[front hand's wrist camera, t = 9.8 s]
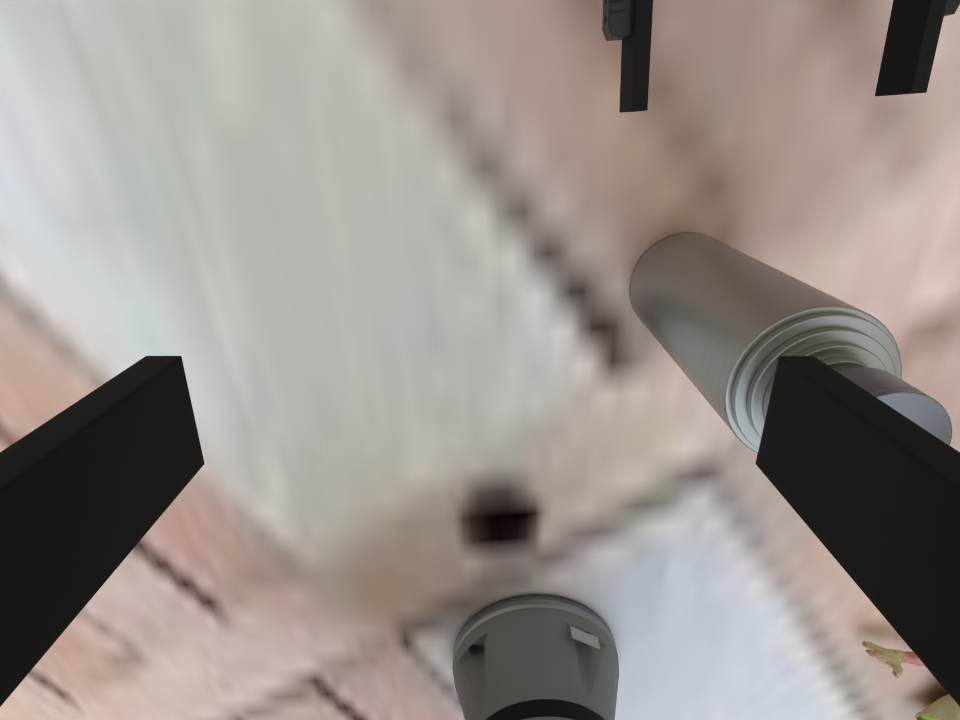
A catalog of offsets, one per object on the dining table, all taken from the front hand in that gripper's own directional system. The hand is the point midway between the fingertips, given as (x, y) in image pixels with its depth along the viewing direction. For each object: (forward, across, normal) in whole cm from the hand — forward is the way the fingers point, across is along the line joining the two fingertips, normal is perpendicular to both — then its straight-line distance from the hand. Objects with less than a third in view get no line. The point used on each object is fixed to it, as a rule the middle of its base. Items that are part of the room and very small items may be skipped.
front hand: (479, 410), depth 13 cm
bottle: (+27, +14, -4) cm, 31 cm away
